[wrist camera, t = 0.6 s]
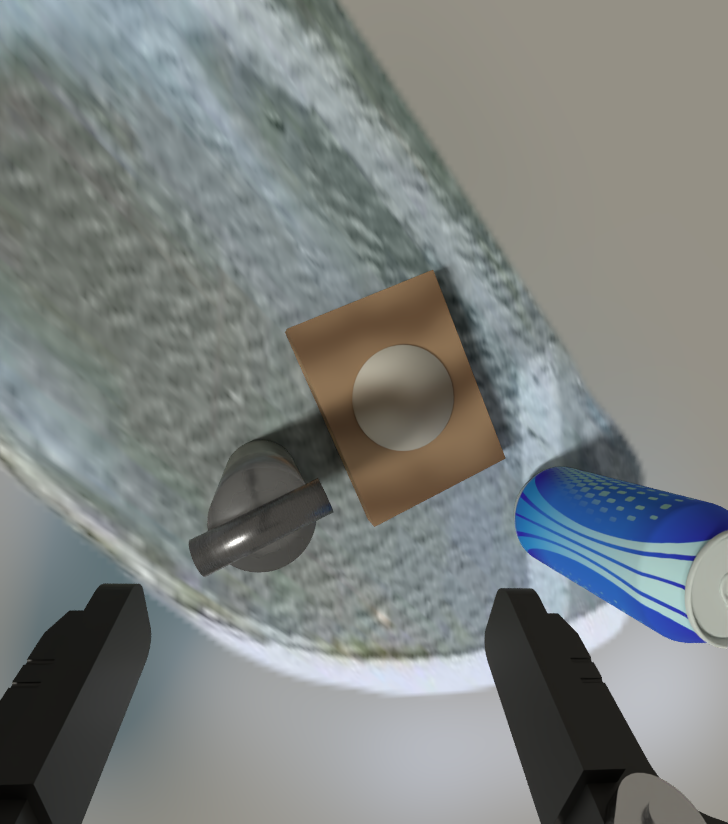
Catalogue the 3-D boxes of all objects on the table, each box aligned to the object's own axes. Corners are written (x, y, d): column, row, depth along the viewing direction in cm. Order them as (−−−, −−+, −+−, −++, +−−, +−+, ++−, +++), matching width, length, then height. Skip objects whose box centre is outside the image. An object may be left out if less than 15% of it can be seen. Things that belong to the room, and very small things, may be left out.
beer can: (500, 556, 38) (665, 669, 23) (511, 460, 38) (686, 509, 23) (582, 558, 41) (785, 663, 25) (593, 467, 40) (804, 516, 25)
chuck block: (285, 332, 33) (287, 328, 31) (423, 276, 36) (434, 269, 33) (367, 519, 35) (375, 527, 33) (492, 454, 38) (507, 458, 36)
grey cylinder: (205, 461, 32) (168, 513, 19) (286, 425, 34) (305, 449, 20) (235, 524, 33) (221, 616, 20) (313, 486, 34) (350, 547, 21)
